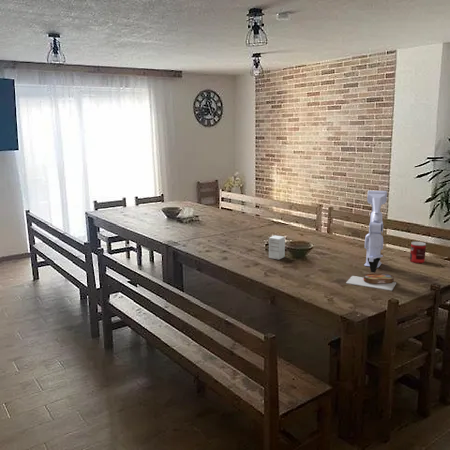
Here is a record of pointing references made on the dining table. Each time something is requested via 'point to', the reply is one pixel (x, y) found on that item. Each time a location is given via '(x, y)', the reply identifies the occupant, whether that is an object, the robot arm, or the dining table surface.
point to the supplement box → (276, 247)
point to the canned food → (417, 252)
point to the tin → (378, 278)
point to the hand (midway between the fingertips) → (373, 271)
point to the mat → (361, 282)
